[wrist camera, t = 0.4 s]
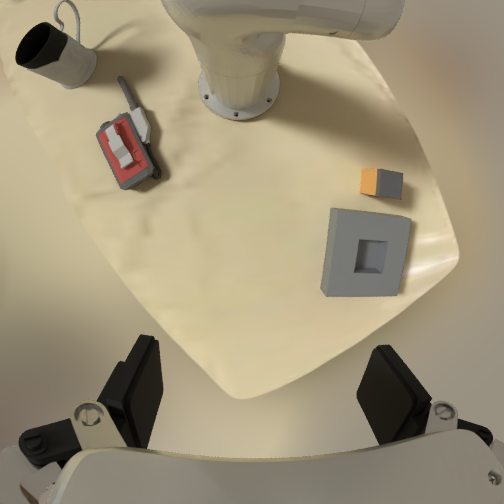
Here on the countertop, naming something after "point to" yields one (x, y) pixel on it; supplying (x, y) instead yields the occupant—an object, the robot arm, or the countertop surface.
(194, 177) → the countertop surface
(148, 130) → the walkie-talkie
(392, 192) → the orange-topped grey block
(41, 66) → the grey and black mug
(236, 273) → the countertop surface
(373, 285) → the socket plate
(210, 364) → the countertop surface
